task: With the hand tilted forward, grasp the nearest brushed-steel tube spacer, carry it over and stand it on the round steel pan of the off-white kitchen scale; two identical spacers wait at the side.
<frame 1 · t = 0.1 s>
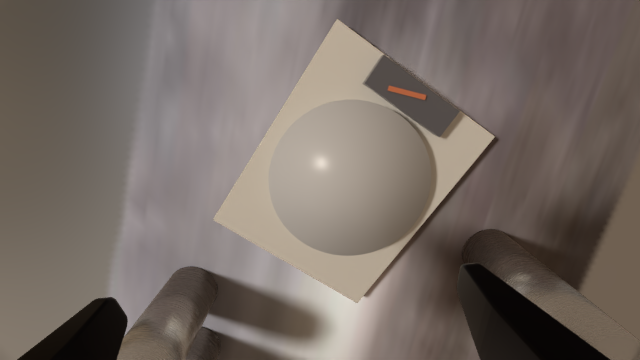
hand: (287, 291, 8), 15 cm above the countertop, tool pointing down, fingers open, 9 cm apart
spacer a: (487, 251, 25), on the countertop
spacer c: (197, 344, 28), on the countertop
spacer b: (193, 287, 26), on the countertop
scale: (347, 175, 23), on the countertop
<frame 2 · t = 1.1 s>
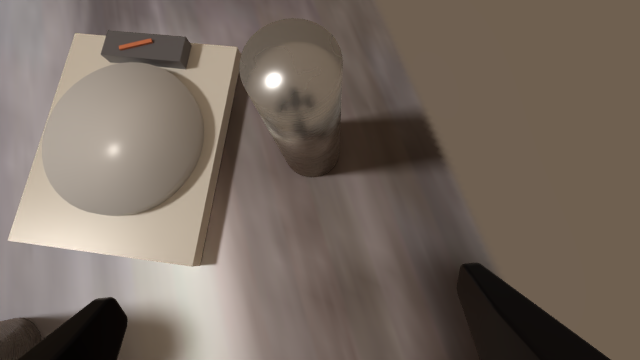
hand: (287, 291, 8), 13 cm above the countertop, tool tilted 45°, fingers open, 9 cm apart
spacer a: (311, 150, 23), on the countertop
spacer b: (12, 350, 21), on the countertop
scale: (138, 144, 24), on the countertop
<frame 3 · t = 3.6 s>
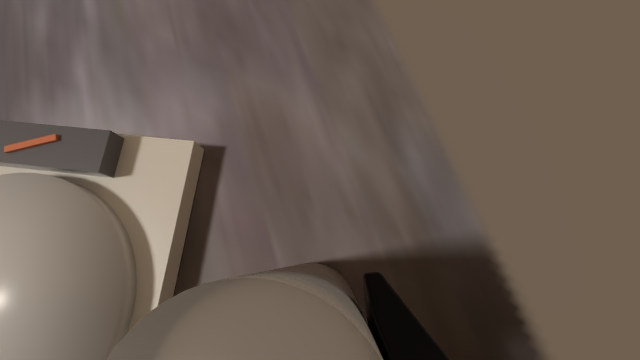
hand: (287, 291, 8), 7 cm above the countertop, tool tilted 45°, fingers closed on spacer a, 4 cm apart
spacer a: (311, 308, 14), on the countertop, touching gripper
scale: (39, 295, 15), on the countertop
when the fingers open (10 cm above the countertop, at t = 6.7 s): spacer a drops 1 cm, resting on scale.
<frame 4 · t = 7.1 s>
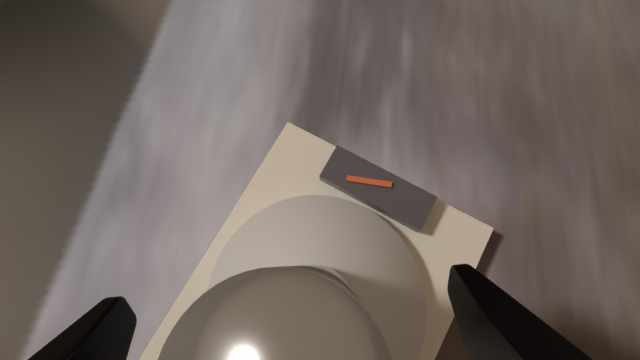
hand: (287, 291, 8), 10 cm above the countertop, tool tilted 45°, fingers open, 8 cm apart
spacer a: (314, 306, 16), point 2 cm above the countertop, touching scale
scale: (316, 298, 18), on the countertop
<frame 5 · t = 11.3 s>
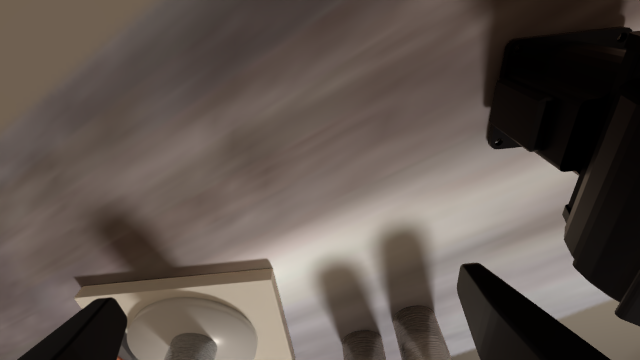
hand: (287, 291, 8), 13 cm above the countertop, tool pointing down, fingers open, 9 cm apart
spacer a: (194, 346, 28), point 2 cm above the countertop, touching scale
spacer c: (413, 319, 30), on the countertop
spacer b: (362, 342, 32), on the countertop
scale: (200, 325, 29), on the countertop
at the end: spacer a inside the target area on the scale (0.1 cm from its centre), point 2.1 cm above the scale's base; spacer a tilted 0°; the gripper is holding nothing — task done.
